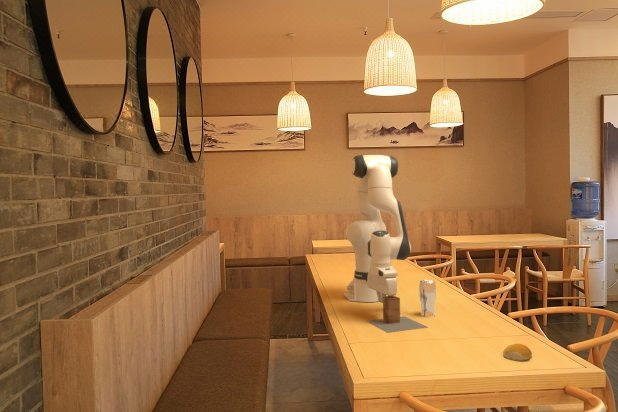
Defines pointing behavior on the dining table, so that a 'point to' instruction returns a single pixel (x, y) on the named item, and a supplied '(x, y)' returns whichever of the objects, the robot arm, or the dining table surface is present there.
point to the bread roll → (517, 352)
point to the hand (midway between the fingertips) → (381, 302)
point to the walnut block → (391, 309)
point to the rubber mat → (397, 325)
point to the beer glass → (427, 297)
